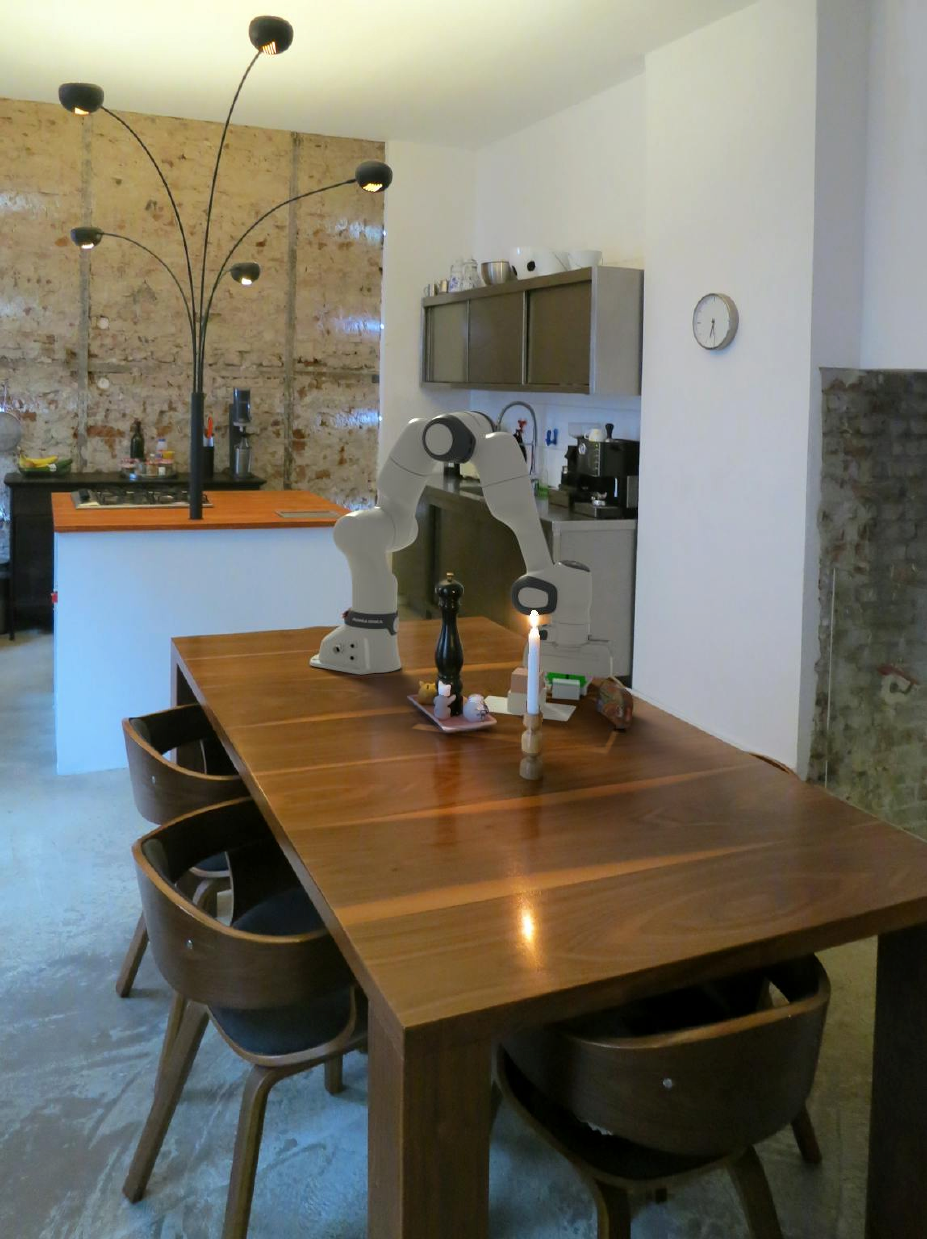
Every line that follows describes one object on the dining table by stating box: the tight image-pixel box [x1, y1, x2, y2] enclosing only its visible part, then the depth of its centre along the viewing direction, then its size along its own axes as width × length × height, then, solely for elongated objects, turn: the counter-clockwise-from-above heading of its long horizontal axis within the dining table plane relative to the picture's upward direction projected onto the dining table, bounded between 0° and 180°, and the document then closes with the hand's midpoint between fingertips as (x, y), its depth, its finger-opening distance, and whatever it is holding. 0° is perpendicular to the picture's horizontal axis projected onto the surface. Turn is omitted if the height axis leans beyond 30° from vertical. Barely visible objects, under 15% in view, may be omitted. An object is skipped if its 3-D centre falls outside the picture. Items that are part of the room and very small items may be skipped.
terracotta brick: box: [509, 667, 545, 694], centre depth 236 cm, size 6×6×4 cm
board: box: [483, 695, 577, 722], centre depth 237 cm, size 20×12×1 cm, turn 75°
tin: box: [596, 680, 634, 730], centre depth 231 cm, size 15×3×8 cm, turn 13°
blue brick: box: [551, 678, 580, 701], centre depth 248 cm, size 6×6×4 cm
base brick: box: [507, 687, 547, 712], centre depth 236 cm, size 7×7×4 cm
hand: (565, 692), depth 248 cm, fingers closed on blue brick, 6 cm apart
